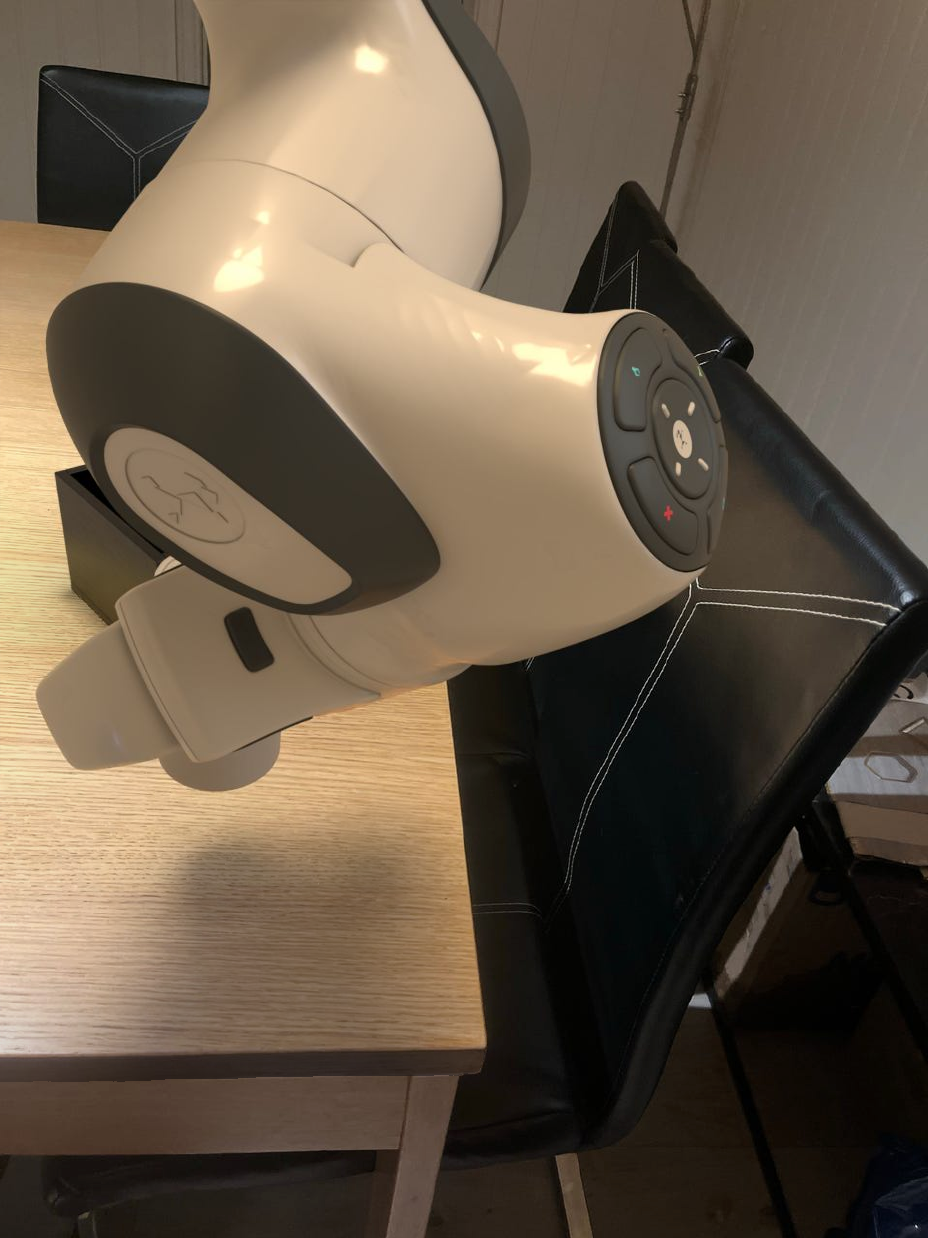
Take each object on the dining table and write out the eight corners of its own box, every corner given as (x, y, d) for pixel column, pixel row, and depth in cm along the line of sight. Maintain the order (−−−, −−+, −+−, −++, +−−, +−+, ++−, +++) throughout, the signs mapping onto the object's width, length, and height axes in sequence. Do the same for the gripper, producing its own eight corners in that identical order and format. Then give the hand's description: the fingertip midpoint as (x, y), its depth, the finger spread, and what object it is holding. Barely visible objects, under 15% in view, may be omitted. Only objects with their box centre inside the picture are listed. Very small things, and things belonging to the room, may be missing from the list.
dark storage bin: (166, 683, 67) (156, 562, 61) (71, 588, 75) (53, 471, 68) (322, 615, 76) (328, 503, 70) (224, 536, 84) (221, 429, 77)
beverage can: (149, 729, 50) (133, 546, 43) (263, 708, 53) (266, 532, 46) (170, 814, 46) (157, 625, 39) (294, 786, 48) (303, 604, 41)
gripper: (493, 451, 42) (338, 538, 52) (79, 608, 29) (-20, 683, 39) (549, 574, 43) (385, 636, 53) (168, 786, 29) (47, 813, 39)
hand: (210, 657), depth 46 cm, fingers closed on beverage can, 6 cm apart
